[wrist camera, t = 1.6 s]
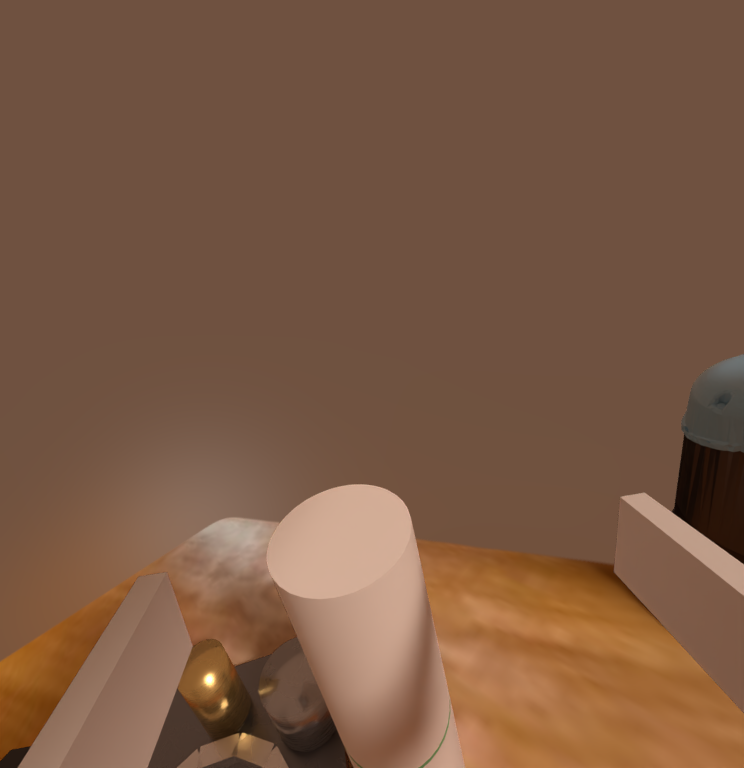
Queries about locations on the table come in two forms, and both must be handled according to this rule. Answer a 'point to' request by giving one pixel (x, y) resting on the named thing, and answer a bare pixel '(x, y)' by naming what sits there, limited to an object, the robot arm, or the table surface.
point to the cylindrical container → (367, 626)
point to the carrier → (248, 714)
